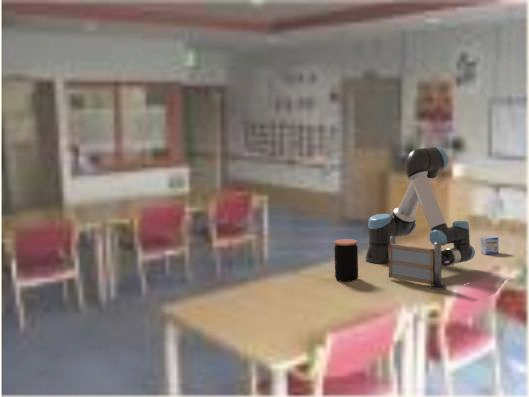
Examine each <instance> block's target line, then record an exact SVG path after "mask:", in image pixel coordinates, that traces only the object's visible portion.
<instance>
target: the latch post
mask: <svg viewBox="0 0 529 397" xmlns="http://www.w3.org/2000/svg"><path fill="white" fill-rule="evenodd" d="M390 243H392V244H396V238H395V237H394V236H392V237H390Z"/></svg>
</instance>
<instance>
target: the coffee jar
mask: <svg viewBox="0 0 529 397" xmlns="http://www.w3.org/2000/svg"><path fill="white" fill-rule="evenodd" d="M333 242H334V277H335V279H336V280H337V281H339V282H347V283H348V282H349V283H350V282H354V281H357V280H358V278H359V258H358V257H359V254H358V252H359V250H358V245H357V244H358V240H356V239H351V238H343V239H342V238H341V239H336V240H334V241H333Z"/></svg>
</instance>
